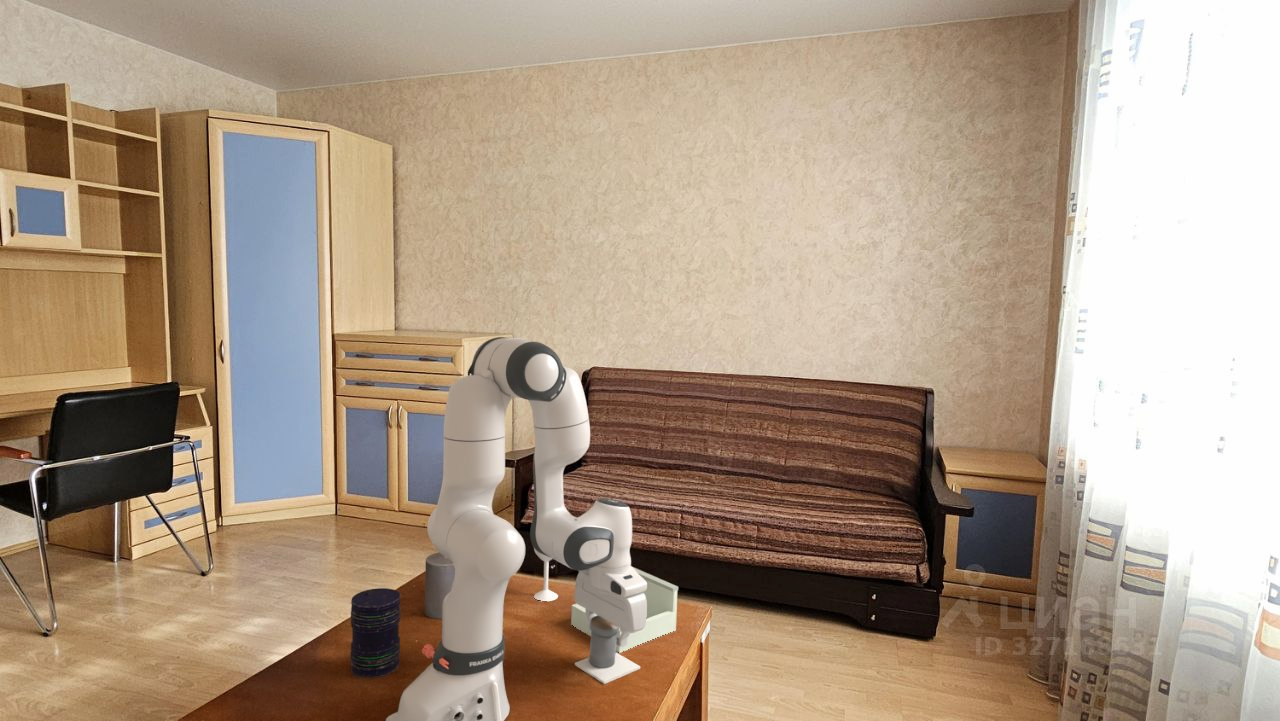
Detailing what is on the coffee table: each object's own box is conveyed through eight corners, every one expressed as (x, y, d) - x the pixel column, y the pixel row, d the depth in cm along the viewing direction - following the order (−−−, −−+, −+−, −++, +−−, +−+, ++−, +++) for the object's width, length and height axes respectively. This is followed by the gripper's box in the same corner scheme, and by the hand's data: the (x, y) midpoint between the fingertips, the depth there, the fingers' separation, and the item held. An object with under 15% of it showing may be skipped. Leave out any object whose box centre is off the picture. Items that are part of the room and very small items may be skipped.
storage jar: (410, 663, 151) (411, 595, 150) (371, 683, 142) (372, 611, 141) (378, 650, 156) (379, 584, 155) (339, 669, 147) (340, 599, 146)
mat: (604, 684, 145) (604, 681, 145) (574, 665, 152) (574, 662, 152) (640, 668, 151) (640, 666, 151) (610, 651, 159) (610, 649, 159)
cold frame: (619, 653, 158) (620, 606, 157) (571, 625, 171) (572, 581, 171) (676, 630, 170) (678, 586, 170) (627, 605, 184) (628, 565, 183)
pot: (599, 672, 148) (603, 632, 147) (581, 658, 153) (584, 619, 152) (622, 663, 153) (626, 624, 151) (604, 649, 157) (607, 612, 156)
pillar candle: (422, 606, 179) (422, 548, 178) (460, 600, 183) (461, 544, 182) (427, 622, 171) (428, 562, 169) (468, 616, 175) (469, 557, 173)
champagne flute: (563, 596, 188) (565, 508, 187) (544, 603, 183) (547, 513, 181) (546, 589, 193) (548, 503, 191) (527, 596, 187) (529, 508, 186)
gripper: (568, 563, 156) (566, 624, 157) (630, 592, 141) (627, 659, 142) (591, 557, 160) (588, 616, 161) (652, 585, 145) (650, 650, 146)
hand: (607, 637), depth 151 cm, fingers open, 8 cm apart
